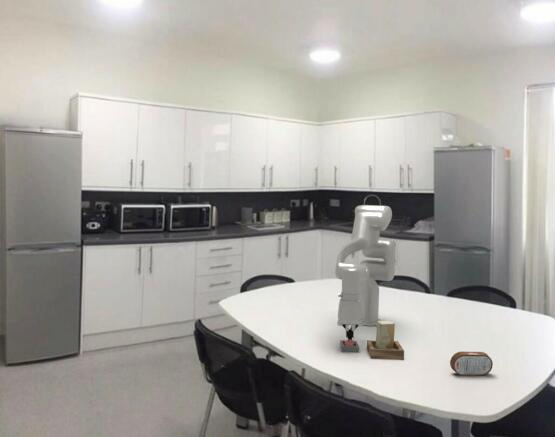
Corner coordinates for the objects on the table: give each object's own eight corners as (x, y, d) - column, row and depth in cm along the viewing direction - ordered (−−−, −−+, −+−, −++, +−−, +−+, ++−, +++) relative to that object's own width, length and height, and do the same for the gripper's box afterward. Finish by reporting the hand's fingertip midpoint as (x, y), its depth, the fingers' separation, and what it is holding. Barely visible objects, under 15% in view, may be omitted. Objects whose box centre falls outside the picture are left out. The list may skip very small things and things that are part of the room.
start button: (343, 346, 190) (344, 339, 190) (353, 346, 190) (353, 340, 190) (344, 350, 186) (345, 343, 186) (354, 350, 186) (354, 343, 186)
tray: (366, 348, 190) (366, 340, 189) (397, 349, 189) (398, 341, 189) (370, 358, 179) (371, 349, 178) (403, 359, 178) (404, 350, 178)
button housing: (340, 346, 192) (340, 340, 192) (356, 346, 192) (356, 340, 192) (341, 352, 185) (341, 346, 185) (358, 352, 185) (358, 346, 185)
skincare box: (379, 353, 181) (380, 324, 180) (375, 349, 185) (375, 320, 184) (394, 352, 183) (395, 323, 182) (389, 348, 187) (390, 320, 186)
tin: (489, 373, 166) (490, 350, 166) (493, 376, 163) (494, 354, 163) (449, 373, 166) (450, 350, 165) (452, 376, 163) (453, 354, 162)
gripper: (333, 298, 183) (332, 342, 185) (370, 299, 183) (369, 342, 184) (332, 293, 191) (331, 335, 193) (367, 294, 190) (366, 336, 192)
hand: (349, 339), depth 188 cm, fingers closed
